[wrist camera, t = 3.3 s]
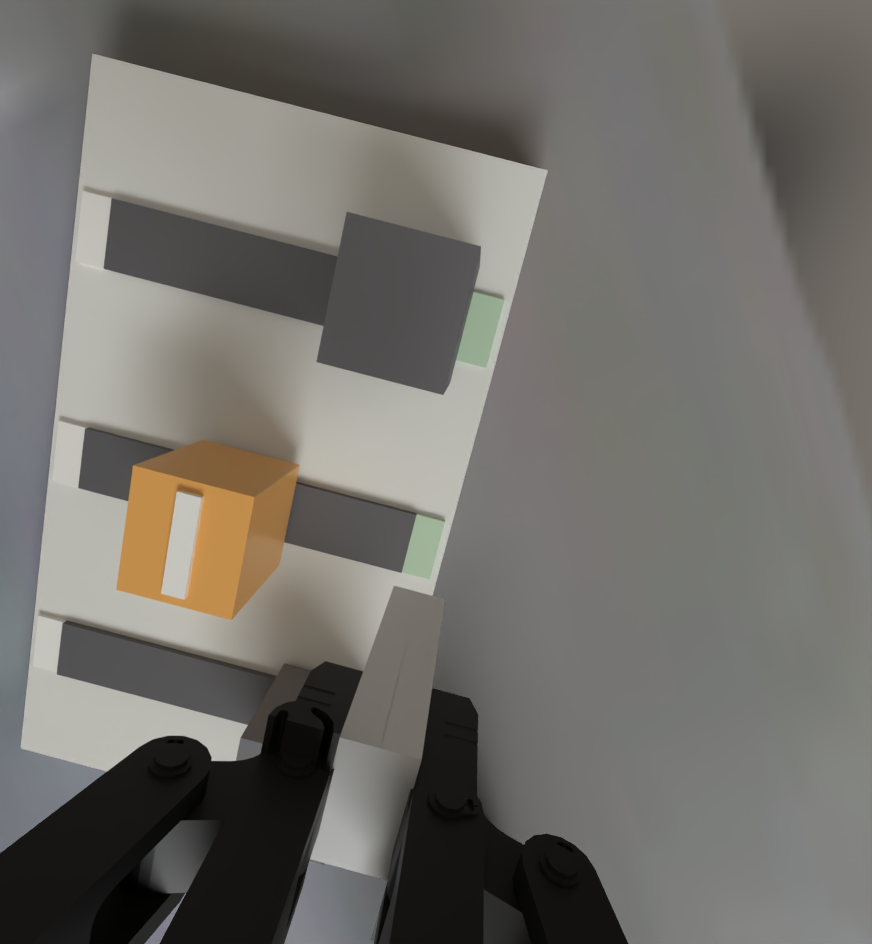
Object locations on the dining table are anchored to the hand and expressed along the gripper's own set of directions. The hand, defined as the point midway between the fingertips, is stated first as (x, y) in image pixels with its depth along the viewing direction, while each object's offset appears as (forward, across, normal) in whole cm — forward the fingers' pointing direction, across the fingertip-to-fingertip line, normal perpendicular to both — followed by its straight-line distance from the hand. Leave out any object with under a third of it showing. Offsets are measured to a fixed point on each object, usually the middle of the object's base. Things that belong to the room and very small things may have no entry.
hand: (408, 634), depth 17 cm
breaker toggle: (+7, -8, 0) cm, 11 cm away
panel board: (+10, -8, 0) cm, 13 cm away
